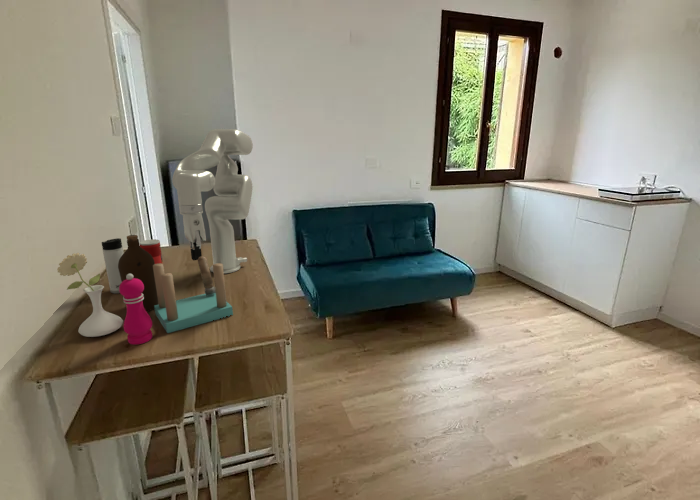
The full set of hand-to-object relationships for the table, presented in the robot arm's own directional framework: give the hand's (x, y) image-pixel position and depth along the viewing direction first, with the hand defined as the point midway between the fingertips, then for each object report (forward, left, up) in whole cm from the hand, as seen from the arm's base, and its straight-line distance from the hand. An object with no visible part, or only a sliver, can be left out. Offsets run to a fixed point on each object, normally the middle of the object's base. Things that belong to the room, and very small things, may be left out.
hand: (196, 259), depth 141 cm
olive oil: (+19, +1, -13) cm, 24 cm away
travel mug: (+23, -20, -13) cm, 33 cm away
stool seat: (+7, +17, -13) cm, 23 cm away
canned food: (+7, -44, -13) cm, 46 cm away
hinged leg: (0, +12, -9) cm, 16 cm away
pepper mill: (+24, +24, -13) cm, 37 cm away
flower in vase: (+33, +12, -13) cm, 38 cm away
